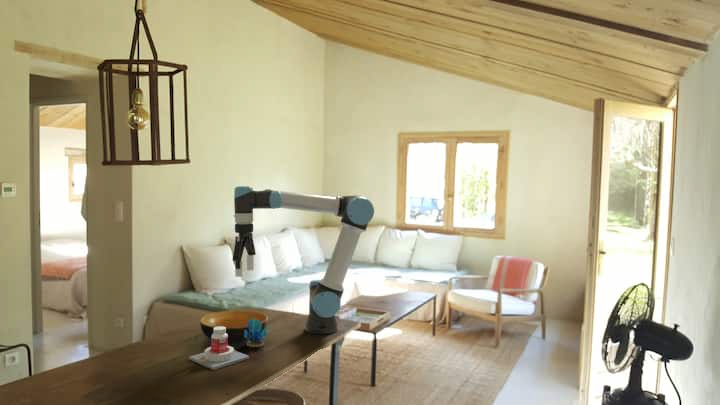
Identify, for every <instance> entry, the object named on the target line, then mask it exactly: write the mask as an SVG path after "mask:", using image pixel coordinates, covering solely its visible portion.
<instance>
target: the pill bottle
mask: <svg viewBox="0 0 720 405" xmlns="http://www.w3.org/2000/svg"><path fill="white" fill-rule="evenodd" d="M212 331H213V333H212V334H211V336H210V337H211V338H210V339H211V340H210V341H211V342H210V347H211V353H216V354H219V353H225V352H228V346H229V344H228V342H229V341H228V340H229V335H228V333H226V332H227V327H226V326H222V325H221V326H214V327H213V330H212Z"/></svg>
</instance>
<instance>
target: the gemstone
mask: <svg viewBox="0 0 720 405" xmlns="http://www.w3.org/2000/svg"><path fill="white" fill-rule="evenodd" d="M246 323H247V327H248V330H249V331H248V330H246V329H244V335H243V338H244V339H246V340H247V342H246V346H247V347H248V346H249V347H248V348H252V347H253V348H255V347H256V348H261V347H263V346H264V345H265V341H263V340H264V339H265V338H266V337H267V336H268V329H267V327H265V328H264V329H263V330H262V327H263V326H262V322H261V321H260V320H258V319H256V318H254V317H253V318H251V319H250V320H248V321H247V322H246Z"/></svg>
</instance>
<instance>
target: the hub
mask: <svg viewBox="0 0 720 405" xmlns="http://www.w3.org/2000/svg"><path fill="white" fill-rule="evenodd" d="M246 359H247V360H249V359H250V356H249V355H247V354H245V353H242V352H239V351H237V350H235V349H234V347H233V346H230V345H228V352H225V353H219V354H216V353H211V346H209V347H207V348H206V349H204V352H200V353H198V354H194V355H191V356H189V357H188V360H189V361H192V362H195V363H197V364H199V365H201V366H203V367H205V368H208V369H209V370H212V371H215V370H219V369H222V368H224V367H228V366H231V365H234V364H237V363H240V361H241V362H243V360H244V361H247V360H246Z"/></svg>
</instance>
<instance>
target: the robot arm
mask: <svg viewBox="0 0 720 405" xmlns="http://www.w3.org/2000/svg"><path fill="white" fill-rule="evenodd" d="M233 198H234V204H233V206H234V215H233V218H234V223H235V224H234V232H235V234H238V235H236V236H235V240H234V241H235V242H234V249H233V255H232V261H233V262H234V268H235V270H234V271H235V272H234V273H235V274H234V275H235V277H237V278H239V277H240V278H242V277H243V260H242V258H243V253H244V250H245V251H246V253H247V255H246V271H254V256H256V254H257V253H256V247H255V242H254V239H253V238H254V237H253V232H254V224H253V222H254V209H255V210H257V209H259V210H260V209H265V210H266V209H273V210H275V209H286V210H287V209H288V210H297V211H304V212H305V211H306V212H314V213H324V214H331V215H334V216H335V217H339V218H341V219H340V224H341V228H340V232H339V235H338V237H337V240H336V243H335V246H334V248H333V252H332V253H331V257H330V260H329V262H328V265H327V268H326V270H325V274H324V276H323V278H321V279H313V280H310V282H309V286H308V288H309V295H308V296H309V301H308V302H309V306H308V311H309V312H308V315H307V319H306V323H304V324H305V325H304V331H306V332H307V333H309V334H313V335H330V334H333V333H336V332H337V331H338V330H339V324H338V322H337V318H336V314H338V312H339V311H340V309H341V299H342V297H343V294H344V292H345V291H344V290H345V289H344V286H343V283H344V280H345V278H346V276H347V272H348V270H349V268H350V265H351V261H352V258H353V256H354V253H355V250H356V247H357V245H358V243H359V240H360V237H361V234H362V233H365V232H366V231H367V228H368V225H369V223H370V222H371V220H373V218H374V214H375V207H374V205H373V203H372V202H371V200H370V199H369V198H367V197H365V196H362V195H339V194H338V195H336V196H326V195H317V194H311V193H310V194H309V193H302V192H301V193H299V192H291V191H284V190H283V191H282V190H273V189H268V188H267V189H263V190H254V189H253V186H251V185H250V186H247V185H242V186H241V185H240V186H235V188H234V196H233Z"/></svg>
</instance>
